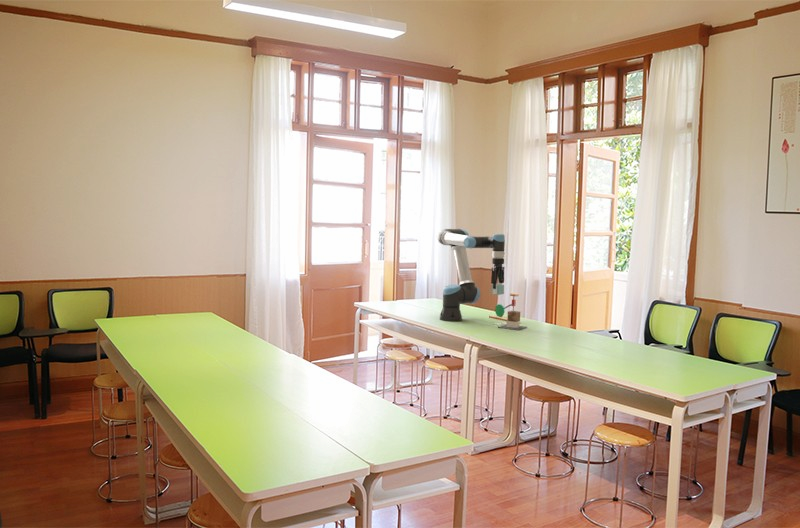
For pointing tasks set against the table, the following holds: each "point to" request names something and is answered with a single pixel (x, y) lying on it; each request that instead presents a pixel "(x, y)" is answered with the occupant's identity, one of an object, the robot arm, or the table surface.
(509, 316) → the walnut brick
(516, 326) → the mat
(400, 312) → the table surface
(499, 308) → the crank mechanism
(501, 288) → the teal brick
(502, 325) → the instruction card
